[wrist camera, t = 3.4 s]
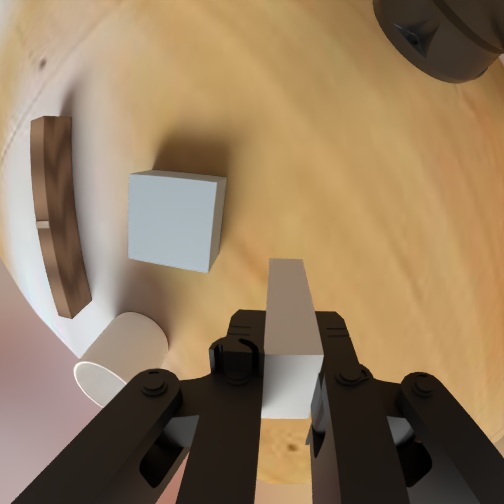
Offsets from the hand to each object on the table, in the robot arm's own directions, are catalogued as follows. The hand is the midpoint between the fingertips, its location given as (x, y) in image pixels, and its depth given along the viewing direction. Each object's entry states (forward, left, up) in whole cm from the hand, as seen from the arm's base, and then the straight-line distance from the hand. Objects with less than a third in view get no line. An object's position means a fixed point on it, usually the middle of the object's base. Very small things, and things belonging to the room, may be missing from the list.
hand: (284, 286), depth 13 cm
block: (0, -10, -15) cm, 18 cm away
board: (0, -26, -15) cm, 30 cm away
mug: (+18, -19, -15) cm, 30 cm away
